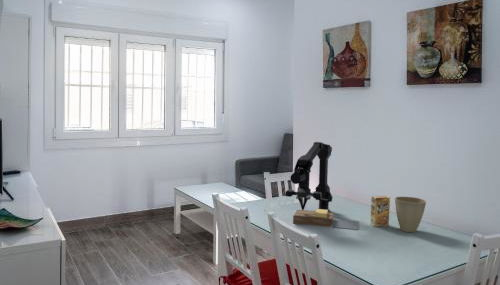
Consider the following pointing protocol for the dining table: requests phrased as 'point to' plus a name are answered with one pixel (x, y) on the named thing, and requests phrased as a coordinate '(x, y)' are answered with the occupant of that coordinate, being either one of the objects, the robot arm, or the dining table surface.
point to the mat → (346, 224)
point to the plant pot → (409, 212)
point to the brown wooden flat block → (312, 218)
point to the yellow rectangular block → (321, 213)
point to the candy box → (380, 211)
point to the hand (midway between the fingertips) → (302, 209)
